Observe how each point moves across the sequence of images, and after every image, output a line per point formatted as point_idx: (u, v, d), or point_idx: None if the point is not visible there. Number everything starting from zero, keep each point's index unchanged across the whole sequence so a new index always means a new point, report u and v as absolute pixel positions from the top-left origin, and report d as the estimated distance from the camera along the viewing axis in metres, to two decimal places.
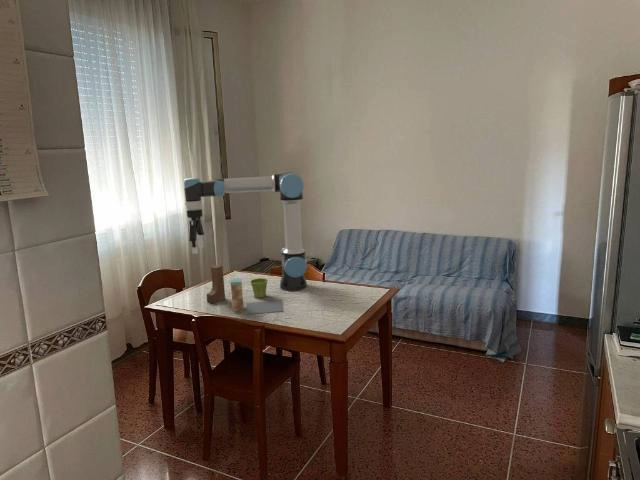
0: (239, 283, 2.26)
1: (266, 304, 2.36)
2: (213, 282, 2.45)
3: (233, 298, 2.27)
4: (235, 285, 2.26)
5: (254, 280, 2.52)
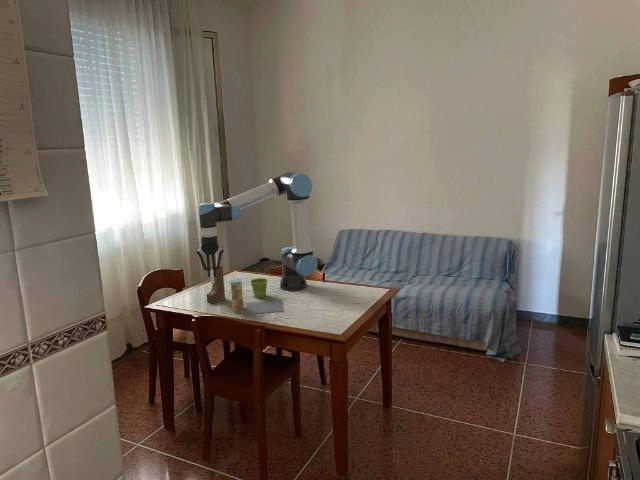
0: (239, 283, 2.26)
1: (266, 304, 2.36)
2: None
3: (233, 298, 2.27)
4: (235, 285, 2.26)
5: (254, 280, 2.52)
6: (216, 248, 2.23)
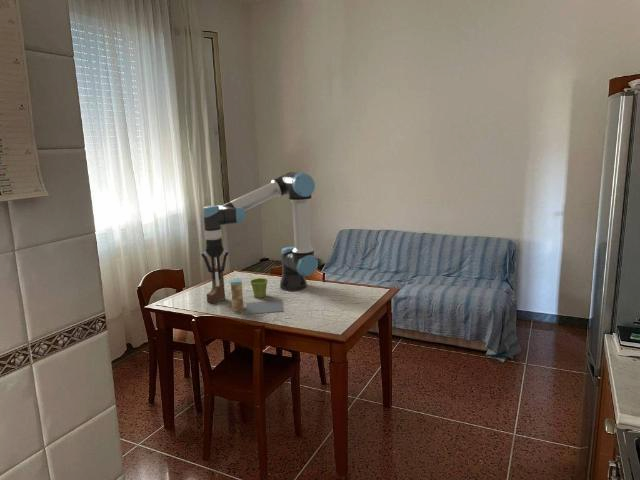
0: (239, 283, 2.26)
1: (266, 304, 2.36)
2: (213, 282, 2.45)
3: (233, 298, 2.27)
4: (235, 285, 2.26)
5: (254, 280, 2.52)
6: (221, 250, 2.23)
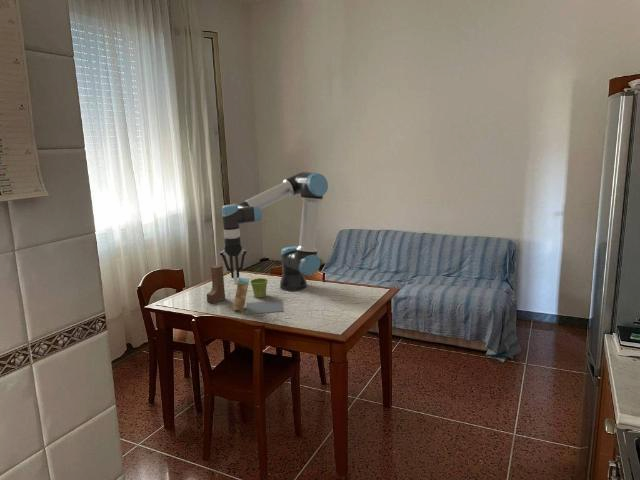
0: (247, 283, 2.27)
1: (266, 304, 2.36)
2: (213, 282, 2.45)
3: (237, 296, 2.28)
4: (242, 284, 2.27)
5: (254, 280, 2.52)
6: (239, 249, 2.25)
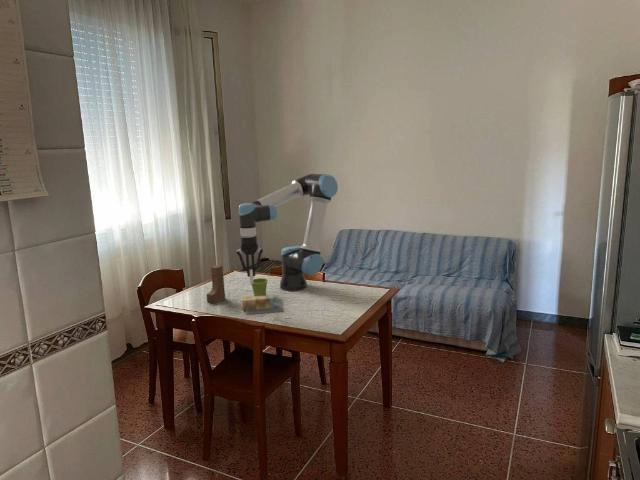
0: (271, 306, 2.31)
1: None
2: (213, 282, 2.45)
3: (256, 301, 2.29)
4: (270, 302, 2.31)
5: (254, 280, 2.52)
6: (255, 248, 2.25)
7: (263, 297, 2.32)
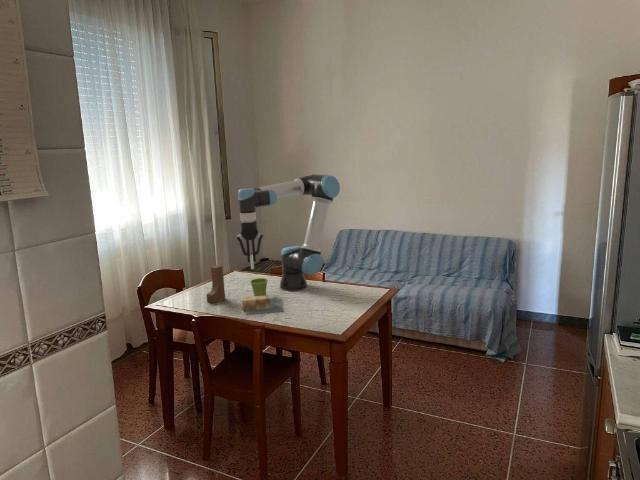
0: (271, 306, 2.31)
1: None
2: (213, 282, 2.45)
3: (256, 301, 2.29)
4: (270, 302, 2.31)
5: (254, 280, 2.52)
6: (256, 233, 2.24)
7: (263, 297, 2.32)
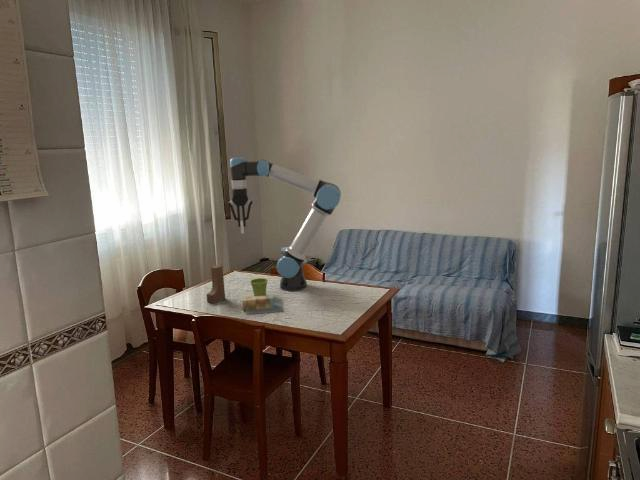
0: (271, 306, 2.31)
1: None
2: (213, 282, 2.45)
3: (256, 301, 2.29)
4: (270, 302, 2.31)
5: (254, 280, 2.52)
6: (246, 200, 2.42)
7: (263, 297, 2.32)
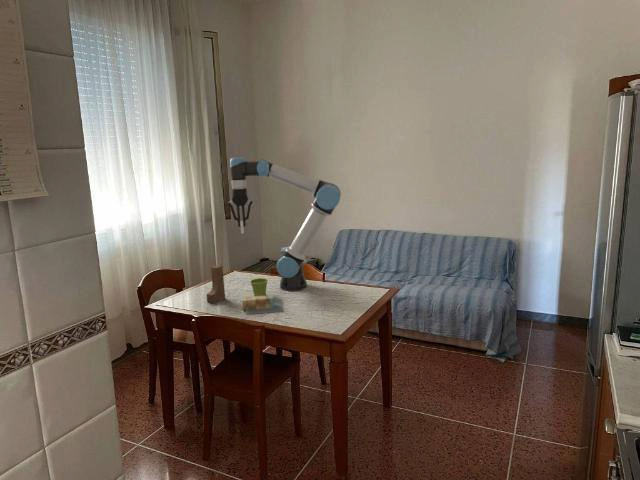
0: (271, 306, 2.31)
1: None
2: (213, 282, 2.45)
3: (256, 301, 2.29)
4: (270, 302, 2.31)
5: (254, 280, 2.52)
6: (246, 200, 2.42)
7: (263, 297, 2.32)
